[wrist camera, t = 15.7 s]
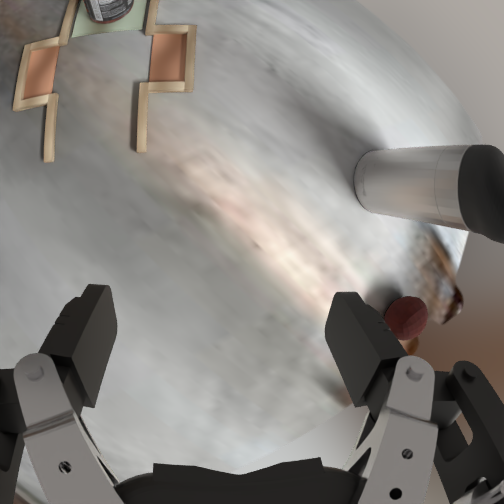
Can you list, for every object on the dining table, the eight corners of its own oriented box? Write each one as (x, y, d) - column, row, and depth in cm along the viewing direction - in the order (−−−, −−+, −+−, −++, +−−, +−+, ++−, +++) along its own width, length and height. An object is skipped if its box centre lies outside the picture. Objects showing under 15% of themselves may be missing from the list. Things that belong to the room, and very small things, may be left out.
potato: (373, 304, 44) (403, 321, 37) (406, 282, 46) (436, 294, 39) (379, 338, 46) (405, 357, 40) (409, 316, 48) (437, 330, 41)
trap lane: (200, -20, 26) (202, -28, 24) (191, 150, 31) (193, 148, 29) (43, -3, 19) (40, -10, 17) (12, 168, 25) (5, 168, 23)
